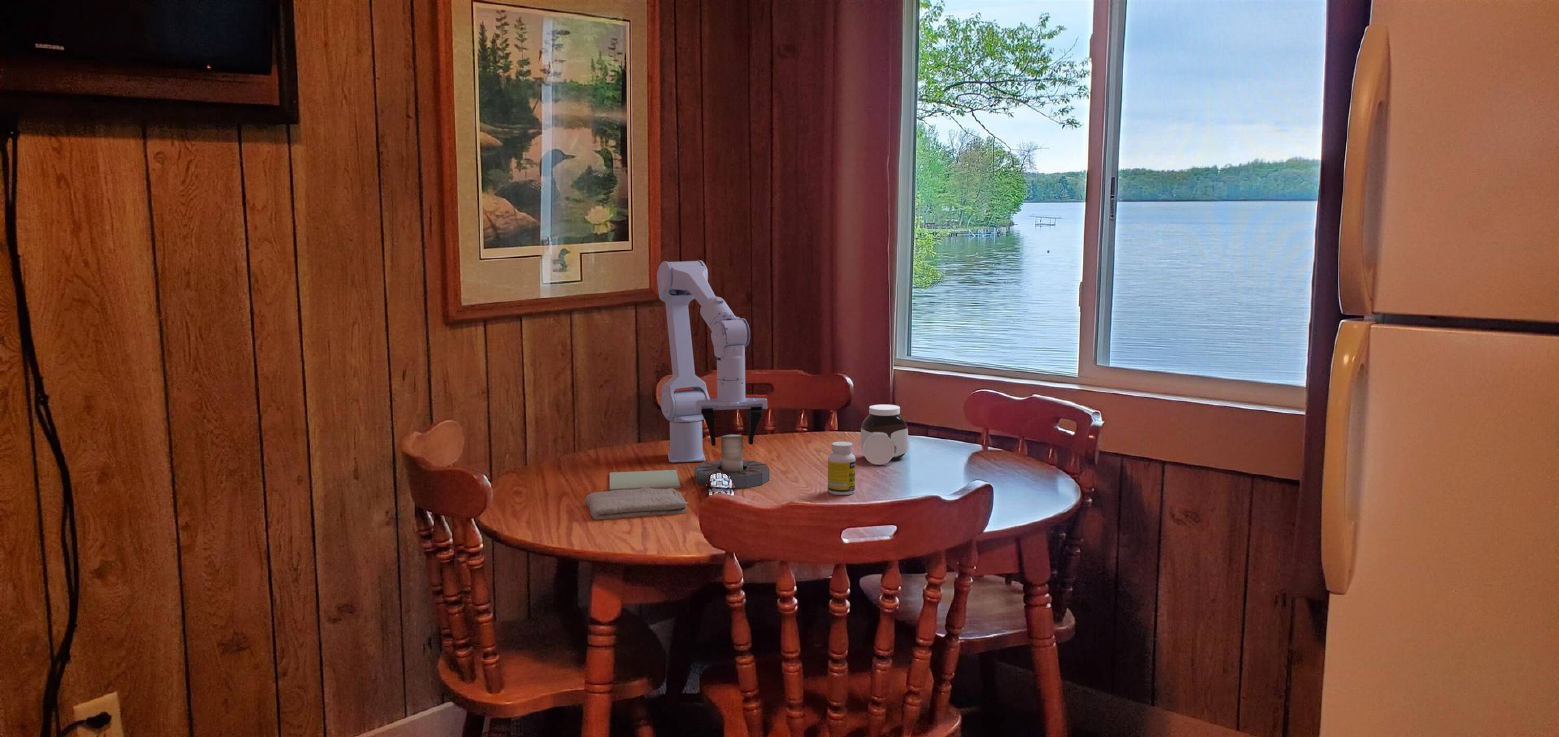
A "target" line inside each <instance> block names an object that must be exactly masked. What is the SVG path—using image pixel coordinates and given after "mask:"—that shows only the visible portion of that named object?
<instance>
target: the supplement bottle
mask: <svg viewBox="0 0 1559 737" xmlns="http://www.w3.org/2000/svg"><path fill="white" fill-rule="evenodd" d="M831 452H832V453H830V454H829V455H828V457H827V492H828V493H829V494H831V495H835V496H849V495H852V494H854V493H855V492H856V456H855V455H854V454H853V453H852V452H853V443H852V442H849V441H834V442H832V443H831Z"/></svg>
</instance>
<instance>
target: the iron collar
mask: <svg viewBox="0 0 1559 737" xmlns="http://www.w3.org/2000/svg"><path fill="white" fill-rule="evenodd" d="M694 467H695V469H694V470H695V472H694V473H695V475H694V476H695V481H696V484H698V485H701V486H704V487H706V484H707V481H708V480H709V476H711V475H712V474H716V473H721V474H726V475H727V476H730V479H731V480H732V483H733V484H734V486H735V488H734V489H748V488H753V487H754V488H755V487H758V486H762V485H765V483H767V482H770V468H769V466H768V464H767V463H765V462H764V463H763V462H759V461H756V460H749V459H743V470H741V471H722V467H721V459H718V460H713V461H707V462H706V461H705V462H703V463H700V464H699V465H697V466H694Z"/></svg>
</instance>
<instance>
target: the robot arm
mask: <svg viewBox="0 0 1559 737" xmlns="http://www.w3.org/2000/svg"><path fill="white" fill-rule="evenodd" d="M708 271H709V270H708V268H707V265H706V264H705V262H704V261H703V260H701V259H699V260H687V261H666V260H665V261H661V263H660V265H659V266H658V269H657V272H656V282H657V283H656V284H657V291H658V297H659V300H660V301H662V302H664V303H665V310H666V311H665V312H666V322H667V332H668V341H669V353H670V361H671V362H670V363H671V370H672V371H671V372H672V376H671V377H670V378H669V379H668V380H666V382H665V383H664V384H663V385H662V387H661V399H660V407H661V412H662V415H663V416H664V418H665V419H666V420H667V421H669V448H670V449H669V450H670V451H668V452H667V458H668V462H669V463H692V462H706V457H705V453H704V451H703V450H704V449H703V420H704V422H705V424H706V426H707V430H708V433H709V437H710V443H711V444H710V445H711V446H712V447H716V444H717V443H716V433H715V432H716V431H715V428H716V427H715V425H716V424H715V422H716V421H715V419H716V415H715V411H718V410H720V411H721V410H722V411H723V410H724V411H726V410H727V411H728V410H747V415H748V416H747V417H748V418H747V419H748V431H747V432H748V434H747V437H748V439H747V441H748V444H749V445H753V444H754V440H755V439H754V437H755V433H756V429H757V427H758V425H759V422H760V420H761V418H762V417H763V413H764V412H763V411H764V410H768V399H767V398H766V397H762V398H761V397H759V398H758V397H746V355H745V354H746V353H745V352H746V347H748V345H749V344H750V340H751V330H750V326H749V323H748V322H747V319H745V318H740V316H736V315H735V314H734V313H733V310H732V309H731V308H730V307H729V305H728V304H727V302H726V300H724V299H723V298H722V297H720V296H716V295H715V292H714V291H713V289H712V287H711V285H710V283H709V281H708V280H709V273H708ZM693 300H696V302H697V303H698V304H699V305H700V308H699V309H700V311H699V314H700V316H701V317H702V318H703V320H704V321H705V323H706V325H707V326H708V328H709V329H710V331H711V333H710V338H711V342H712V345H713V354H714V357H716V388H717V390H716V392H717V394H716V395H717V396H716V397H717V398H710V395H709V393H708V388H707V383H706V382H705V381H704V380H702V379H701V378H700V377H698V376H697V375H696V372H695V363H694V362H695V360H694V350H693V342H692V332H691V324H690V323H691V322H690V312H689V305H690V303H691V301H693ZM679 389H682V390H679ZM683 389H685V390H683Z"/></svg>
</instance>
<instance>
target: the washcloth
mask: <svg viewBox="0 0 1559 737" xmlns="http://www.w3.org/2000/svg"><path fill="white" fill-rule="evenodd" d="M584 501H585V504H586V506H587V508H588V509H589V513H590V516H591V517H592V519H593V520H594V519H595V521H600V520H611V519H613V520H614V519H625V518H626V519H628V518H629V519H630V518H638V517H639V518H640V517H653V516H665V515H666V516H667V515H679V514H680V515H683V514H687V508H686V506H687V505H688V504H689V502H688V501H686V500H685V498H684V497H683V495H682V493H681V492H680V490H676V488H665V489H651V488H649V487H644V488H641V489H634V490H615V491H610V490H609V491H596V492H595V491H594V492H592V493H590V494H587V495H586V497H585V499H584Z"/></svg>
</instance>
